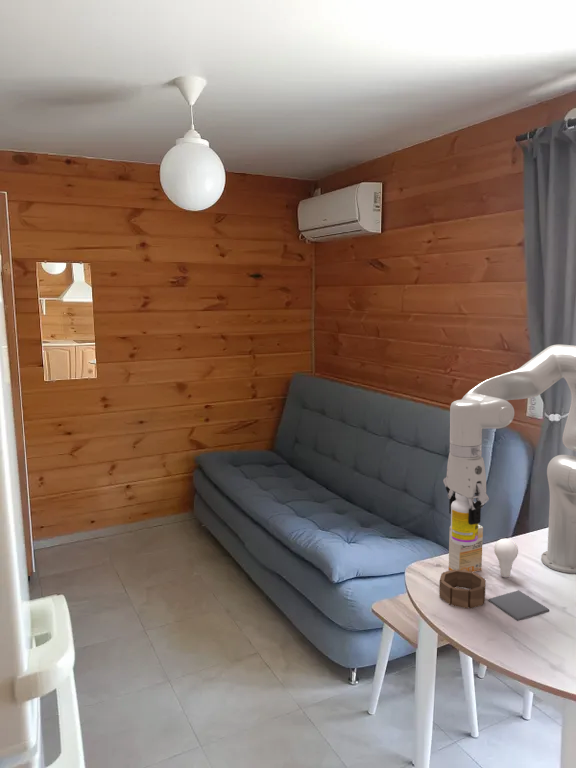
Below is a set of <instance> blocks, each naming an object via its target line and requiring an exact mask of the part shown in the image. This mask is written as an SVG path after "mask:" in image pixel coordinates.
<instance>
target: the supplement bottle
mask: <svg viewBox="0 0 576 768" xmlns="http://www.w3.org/2000/svg"><path fill="white" fill-rule="evenodd" d="M474 496H475V494H474ZM455 497H456V500H455V501H453V502H452V504H451V514H450V526H451V540H452V541H453V542H454V543H456V544H459V545H464V546H470V545H474V544H476V543H477V541H478V525H479V523H477V524H473V525H470V524H469V509H471V507H470V504H469V500H468V498H467V497H465V496H463V495H461V494H459V493H457V492H455ZM473 500H475V499H473ZM475 503H476V501H474V504H475Z"/></svg>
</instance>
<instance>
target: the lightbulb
mask: <svg viewBox="0 0 576 768" xmlns="http://www.w3.org/2000/svg"><path fill="white" fill-rule="evenodd" d="M493 549H494V554H495V557H496V558H497V560H498V564H499V565H498V566H499V570H500V571H499V572H500V576H501V577H503V578H504V579H507V578H509V577H511V574H512V572H511V571H512V568H513V564H514V562H515V560H516V559H517V557H518V555H519V548H518V545H517V544H516V543H515V541H514V540H512V539H511V538H501V539H499V540H497V541H496V542H495V544H494V547H493Z"/></svg>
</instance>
